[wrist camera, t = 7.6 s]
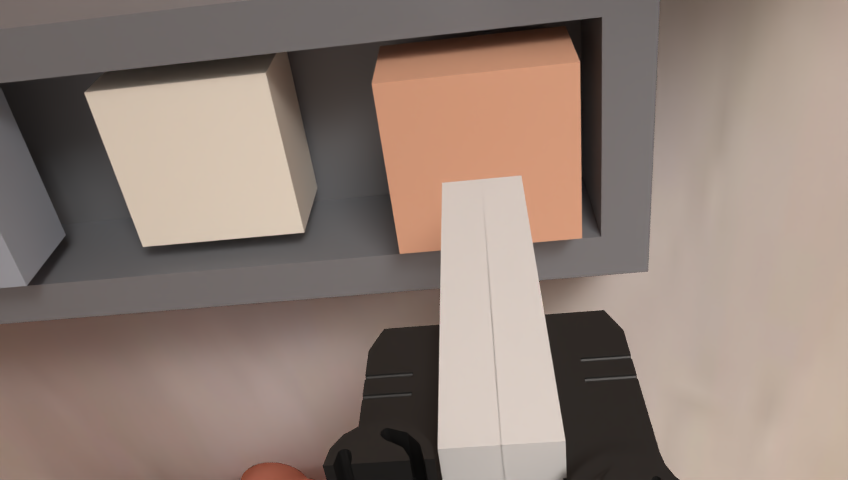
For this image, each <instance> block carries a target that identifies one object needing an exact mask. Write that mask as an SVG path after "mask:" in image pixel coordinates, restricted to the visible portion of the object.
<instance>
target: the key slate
mask: <svg viewBox="0 0 848 480" xmlns="http://www.w3.org/2000/svg"><path fill="white" fill-rule="evenodd" d="M65 236H66V234H65V232H64V229H63V227H62V225H61V223H60V220H59V218H58V216H57V214H56V211H55V209H54V207H53V205H52V202H51V200H50V198H49V195H48V193H47V191H46V189H45V186H44V184H43V182H42V180H41V177H40V175H39V173H38V171H37V168H36V166H35V164H34V162H33V159H32V157H31V155H30V152H29V150H28V148H27V146H26V143H25V141H24V139H23V137H22V134H21V132H20V130H19V128H18V125H17V123H16V121H15V118H14V116H13V114H12V112H11V109H10V107H9V105H8V103H7V100H6V98H5V96H4V94H3V91H2V89H1V88H0V288H7V287H19V286H27V285H28V284H29V282H30V281H31V280H32V278H33V277H34V276H35V275H36V273H37V272H38V271H39V269H40V268H41V267H42V265H43V264H44V263H45V262H46V260H47V259H48V258H49V256H50V255H51V254H52V252H53V251H54V250H55V249H56V247H57V246H58V245H59V243H60V242H61V241H62V239H63V238H64V237H65Z"/></svg>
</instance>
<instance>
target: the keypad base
mask: <svg viewBox="0 0 848 480" xmlns="http://www.w3.org/2000/svg"><path fill="white" fill-rule="evenodd" d="M659 14H660V0H0V88H1V89H2V91H3V94H4V96H5V98H6V100H7V103H8V105H9V107H10V109H11V112H12V114H13V116H14V118H15V121H16V123H17V125H18V128H19V130H20V132H21V134H22V137H23V139H24V141H25V143H26V146H27V148H28V150H29V152H30V155H31V157H32V159H33V162H34V164H35V166H36V168H37V171H38V173H39V175H40V177H41V180H42V182H43V184H44V186H45V189H46V191H47V193H48V195H49V198H50V200H51V202H52V205H53V207H54V209H55V211H56V214H57V216H58V218H59V220H60V223H61V225H62V227H63V229H64V232H65V234H66V236H65V237H64V238H63V239H62V241H61V242H60V243H59V245H58V246H57V247H56V249H55V250H54V251H53V252H52V254H51V255H50V256H49V258H48V259H47V260H46V262H45V263H44V264H43V265H42V267H41V268H40V269H39V271H38V272H37V273H36V275H35V276H34V277H33V278H32V280H31V281H30V282H29V284H28V285H27V286H19V287H7V288H0V324H7V323H20V322H32V321H44V320H57V319H69V318H81V317H94V316H106V315H118V314H131V313H143V312H155V311H168V310H180V309H192V308H205V307H217V306H229V305H242V304H254V303H266V302H279V301H291V300H303V299H316V298H328V297H340V296H353V295H365V294H377V293H390V292H402V291H414V290H426V289H439V288H440V277H441V250H440V251H429V252H417V253H405V254H400V252H399V246H398V240H397V234H396V228H395V222H394V216H393V210H392V204H391V198H390V192H389V186H388V180H387V174H386V168H385V162H384V156H383V150H382V144H381V137H380V131H379V125H378V119H377V113H376V107H375V101H374V95H373V89H372V80H373V75H374V71H375V66H376V62H377V57H378V53H379V48H380V46H386V45H395V44H404V43H413V42H422V41H431V40H440V39H449V38H459V37H468V36H477V35H486V34H495V33H504V32H513V31H523V30H532V29H541V28H550V27H559V26H566V28H567V31H568V33H569V36H570V38H571V41H572V43H573V46H574V48H575V50H576V53H577V55H578V58H579V60H580V95H581V181H582V238H581V239H569V240H557V241H546V242H534V243H533V248H534V254H535V260H536V266H537V272H538V278H539V280H550V279H562V278H574V277H587V276H599V275H611V274H624V273H636V272H648V261H649V238H650V216H651V193H652V171H653V148H654V126H655V104H656V81H657V59H658V36H659ZM280 52H287V54H288V58H289V63H290V67H291V72H292V76H293V81H294V85H295V90H296V94H297V99H298V103H299V108H300V112H301V117H302V121H303V126H304V130H305V135H306V139H307V144H308V148H309V152H310V157H311V161H312V166H313V170H314V175H315V179H316V184H317V191H316V194H315V198H314V201H313V205H312V208H311V212H310V215H309V218H308V222H307V225H306V229H305V232H304V233H295V234H284V235H273V236H261V237H250V238H239V239H228V240H216V241H205V242H194V243H182V244H171V245H160V246H149V247H143V246H142V243H141V241H140V238H139V235H138V233H137V230H136V228H135V225H134V222H133V220H132V217H131V214H130V212H129V209H128V207H127V204H126V201H125V199H124V196H123V193H122V191H121V188H120V186H119V183H118V180H117V178H116V175H115V172H114V170H113V167H112V165H111V162H110V159H109V157H108V154H107V151H106V149H105V146H104V144H103V141H102V138H101V136H100V133H99V130H98V128H97V125H96V123H95V120H94V117H93V115H92V112H91V109H90V107H89V104H88V102H87V99H86V96H85V94H84V92H85V91H86V90H87V89H88V88H89V87H90V86H91V85H92V84H93V83H94V82H95V81H96V80H97V79H98V78H99V77H101V76H102V75H103V74H104V73H105V72H107V71H116V70H125V69H134V68H144V67H153V66H162V65H171V64H180V63H189V62H198V61H207V60H216V59H225V58H234V57H244V56H253V55H262V54H271V53H280Z"/></svg>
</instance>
